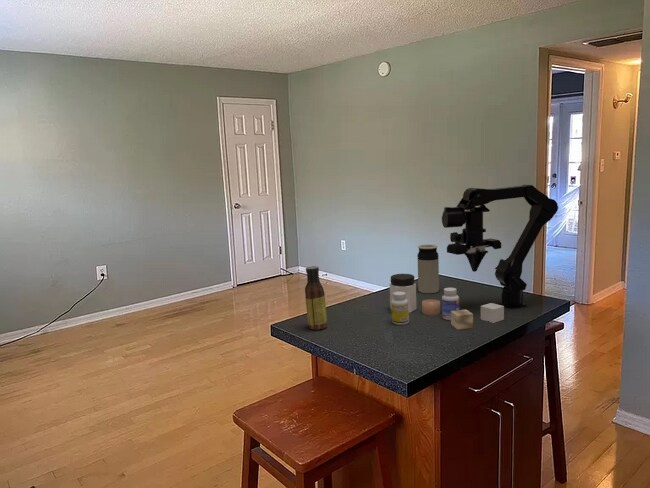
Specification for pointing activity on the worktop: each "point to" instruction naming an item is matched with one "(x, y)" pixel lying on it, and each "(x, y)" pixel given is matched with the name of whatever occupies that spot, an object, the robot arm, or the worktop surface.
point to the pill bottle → (449, 302)
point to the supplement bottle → (400, 308)
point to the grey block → (492, 312)
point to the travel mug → (428, 269)
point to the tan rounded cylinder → (431, 307)
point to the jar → (404, 289)
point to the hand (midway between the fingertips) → (474, 271)
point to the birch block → (461, 319)
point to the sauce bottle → (315, 300)
